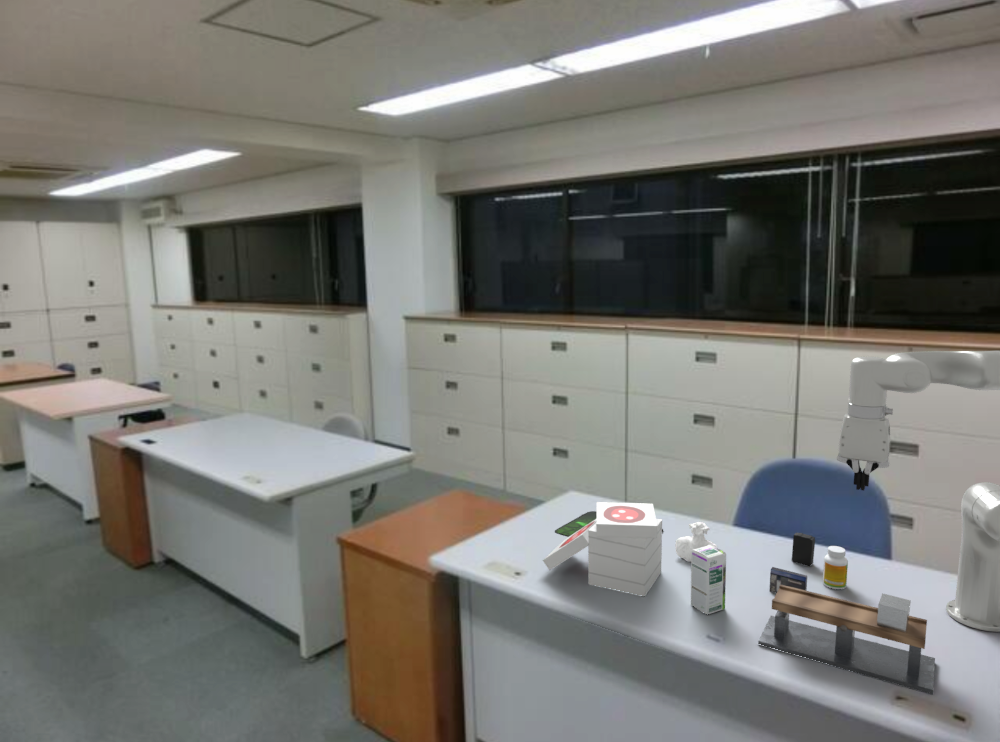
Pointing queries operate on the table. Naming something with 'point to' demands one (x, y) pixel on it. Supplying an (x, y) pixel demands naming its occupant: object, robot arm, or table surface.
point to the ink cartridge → (803, 549)
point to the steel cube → (893, 612)
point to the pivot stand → (851, 652)
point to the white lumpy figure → (693, 541)
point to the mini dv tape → (786, 579)
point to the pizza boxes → (618, 547)
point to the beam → (845, 615)
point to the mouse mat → (577, 524)
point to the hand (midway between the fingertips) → (860, 488)
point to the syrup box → (708, 579)
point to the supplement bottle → (835, 568)
